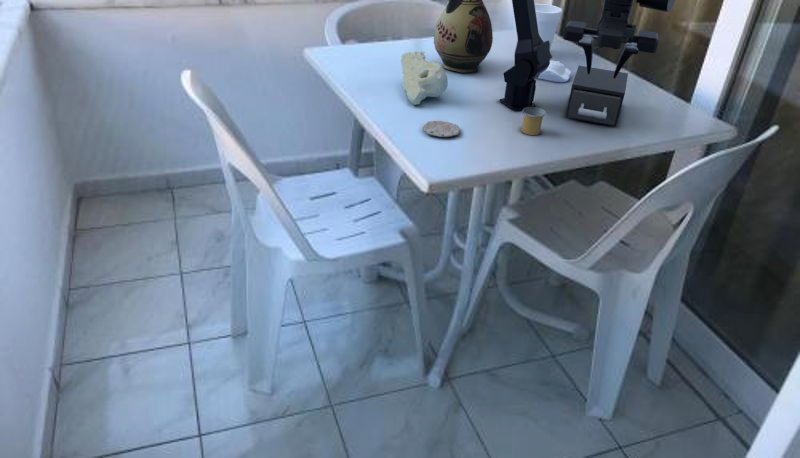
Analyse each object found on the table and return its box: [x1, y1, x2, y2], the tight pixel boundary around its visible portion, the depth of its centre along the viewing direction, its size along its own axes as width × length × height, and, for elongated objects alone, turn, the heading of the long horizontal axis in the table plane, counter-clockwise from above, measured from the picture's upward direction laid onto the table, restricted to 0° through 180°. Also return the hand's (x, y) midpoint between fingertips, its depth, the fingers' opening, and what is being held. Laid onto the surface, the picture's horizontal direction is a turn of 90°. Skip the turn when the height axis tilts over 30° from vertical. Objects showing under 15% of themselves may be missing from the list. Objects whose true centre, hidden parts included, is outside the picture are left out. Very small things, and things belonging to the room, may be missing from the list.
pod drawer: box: [568, 89, 621, 126], centre depth 147 cm, size 17×10×6 cm, turn 161°
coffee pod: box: [521, 106, 547, 136], centre depth 141 cm, size 5×5×5 cm
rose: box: [537, 60, 572, 83], centre depth 170 cm, size 10×4×10 cm
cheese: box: [400, 50, 449, 106], centre depth 154 cm, size 15×7×15 cm
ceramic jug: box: [433, 0, 494, 74], centre depth 165 cm, size 17×15×30 cm
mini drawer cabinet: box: [564, 65, 629, 127], centre depth 151 cm, size 14×12×8 cm
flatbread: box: [422, 120, 460, 138], centre depth 139 cm, size 8×8×1 cm
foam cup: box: [534, 3, 563, 49], centre depth 182 cm, size 10×9×13 cm
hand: (601, 75), depth 139 cm, fingers open, 5 cm apart
